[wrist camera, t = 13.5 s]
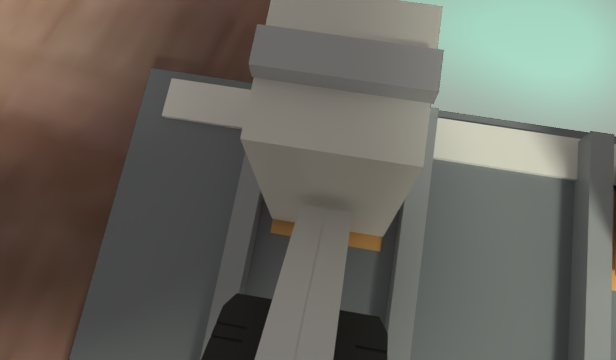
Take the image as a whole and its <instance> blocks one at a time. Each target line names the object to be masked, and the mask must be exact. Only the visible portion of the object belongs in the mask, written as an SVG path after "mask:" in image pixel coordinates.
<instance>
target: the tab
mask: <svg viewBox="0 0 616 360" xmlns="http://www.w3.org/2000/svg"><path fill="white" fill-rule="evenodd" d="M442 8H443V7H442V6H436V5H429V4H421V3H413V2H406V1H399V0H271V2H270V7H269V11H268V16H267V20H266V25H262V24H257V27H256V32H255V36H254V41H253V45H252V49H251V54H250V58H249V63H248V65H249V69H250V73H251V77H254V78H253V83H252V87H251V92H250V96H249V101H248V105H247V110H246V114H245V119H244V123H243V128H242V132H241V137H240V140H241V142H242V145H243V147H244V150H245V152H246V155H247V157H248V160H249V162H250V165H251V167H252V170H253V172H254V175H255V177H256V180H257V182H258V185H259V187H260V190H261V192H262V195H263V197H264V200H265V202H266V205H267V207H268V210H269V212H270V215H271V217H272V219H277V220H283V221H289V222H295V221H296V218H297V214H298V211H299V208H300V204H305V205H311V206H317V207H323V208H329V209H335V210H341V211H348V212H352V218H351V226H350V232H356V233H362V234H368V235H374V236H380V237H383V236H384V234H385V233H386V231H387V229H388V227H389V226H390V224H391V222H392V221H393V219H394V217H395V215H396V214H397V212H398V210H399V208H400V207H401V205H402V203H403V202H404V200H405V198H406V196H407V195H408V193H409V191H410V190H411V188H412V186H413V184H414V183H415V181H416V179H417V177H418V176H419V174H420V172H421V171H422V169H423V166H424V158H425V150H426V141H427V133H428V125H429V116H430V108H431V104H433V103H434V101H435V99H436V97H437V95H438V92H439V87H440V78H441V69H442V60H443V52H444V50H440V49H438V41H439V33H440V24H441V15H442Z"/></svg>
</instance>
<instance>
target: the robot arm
mask: <svg viewBox="0 0 616 360" xmlns="http://www.w3.org/2000/svg"><path fill="white" fill-rule="evenodd" d="M351 218H352V212H348V211H341V210H335V209H329V208H323V207H317V206H311V205H305V204H300V208H299V211H298V214H297V218H296V221H295V225H294V228H293V231H292V235H291V238H290V241H289V245H288V248H287V252H286V255H285V258H284V262H283V265H282V269H281V272H280V275H279V279H278V282H277V285H276V289H275V292H274V296H273V299H268V298H262V297H257V296H251V295H245V294H240V293H236V294H235V295H234V296H233V297H232V298H231V299H230V300H229V301H228V302H226V303H225V304H224V305H223V307H222V309H221V312H220V314H219V317H218V319H217V322H216V325H215V326H214V329H213V331H212V334H211V338H210V339H209V341H208V343H207V346H206V348H205V351H204V353H203V356H202V358H201V360H387V357H388V355H387V352H388V333H387V331H386V329H385V327H384V325H383V323H382V321H381V319H380V317H378V316H372V315H366V314H361V313H355V312H349V311H344V310H340V303H341V296H342V288H343V280H344V272H345V264H346V257H347V249H348V241H349V233H350V226H351Z"/></svg>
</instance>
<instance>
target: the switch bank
mask: <svg viewBox="0 0 616 360" xmlns="http://www.w3.org/2000/svg"><path fill="white" fill-rule="evenodd" d="M251 87H252V83H250V82H243V81H236V80H230V79H223V78H216V77H209V76H203V75H196V74H189V73H182V72H176V71H169V70H162V69H155V68H151V70H150V74H149V78H148V81H147V85H146V88H145V92H144V95H143V99H142V102H141V106H140V109H139V113H138V116H137V120H136V124H135V127H134V131H133V134H132V138H131V141H130V145H129V148H128V152H127V155H126V159H125V163H124V166H123V170H122V173H121V177H120V180H119V184H118V187H117V191H116V194H115V198H114V201H113V205H112V209H111V212H110V216H109V219H108V223H107V226H106V230H105V233H104V237H103V240H102V244H101V248H100V251H99V255H98V258H97V262H96V265H95V269H94V272H93V276H92V279H91V283H90V286H89V290H88V294H87V297H86V301H85V304H84V308H83V311H82V315H81V318H80V322H79V325H78V329H77V333H76V336H75V340H74V343H73V347H72V350H71V354H70V357H69V360H201V358H202V356H203V353H204V351H205V348H206V346H207V343H208V341H209V339H210V338H211V334H212V331H213V329H214V326H215V325H216V322H217V319H218V317H219V314H220V312H221V309H222V307H223V305H224V304H225V303H226V302H228V301H229V300H230V299H231V298H232V297H233V296H234V295H235V294H236V293H240V294H245V295H251V296H257V297H262V298H268V299H273V296H274V292H275V289H276V285H277V282H278V279H279V275H280V272H281V269H282V265H283V262H284V258H285V255H286V252H287V248H288V245H289V241H290V238H291V235H292V231H293V228H294V225H295V222H289V221H283V220H277V219H272V217H271V215H270V212H269V210H268V207H267V205H266V202H265V200H264V197H263V195H262V192H261V190H260V187H259V185H258V182H257V180H256V177H255V175H254V172H253V170H252V167H251V165H250V162H249V160H248V157H247V155H246V152H245V150H244V147H243V145H242V142H241V140H240V137H241V132H242V128H243V123H244V119H245V114H246V110H247V105H248V101H249V96H250V92H251ZM615 247H616V137H615V136H614V135H613V134H607V133H600V132H593V131H591V132H590V133H587V132H581V131H574V130H567V129H560V128H554V127H547V126H541V125H534V124H527V123H520V122H514V121H506V120H500V119H493V118H486V117H480V116H472V115H466V114H459V113H453V112H446V111H439V109H437V108H430V116H429V125H428V133H427V141H426V150H425V158H424V166H423V169H422V171H421V172H420V174H419V176H418V177H417V179H416V181H415V183H414V184H413V186H412V188H411V190H410V191H409V193H408V195H407V196H406V198H405V200H404V202H403V203H402V205H401V207H400V208H399V210H398V212H397V214H396V215H395V217H394V219H393V221H392V222H391V224H390V226H389V227H388V229H387V231H386V233H385V234H384V236H383V237H380V236H374V235H368V234H362V233H356V232H350V233H349V241H348V249H347V257H346V264H345V272H344V280H343V288H342V296H341V303H340V310H344V311H349V312H355V313H361V314H366V315H372V316H378V317H380V319H381V321H382V323H383V325H384V327H385V329H386V331H387V333H388V352H387V355H388V357H387V360H616V275H615Z"/></svg>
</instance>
